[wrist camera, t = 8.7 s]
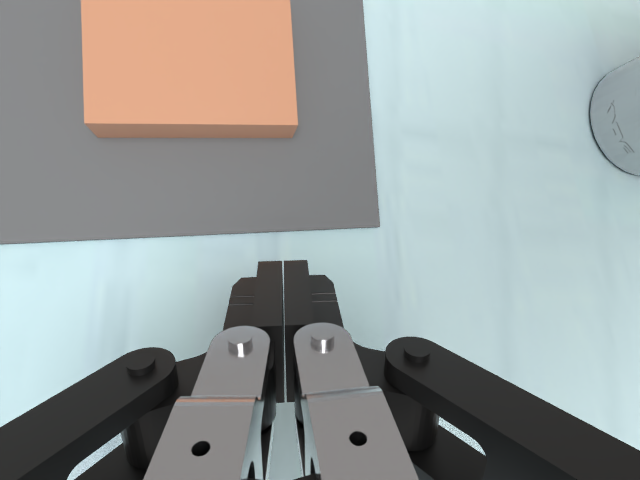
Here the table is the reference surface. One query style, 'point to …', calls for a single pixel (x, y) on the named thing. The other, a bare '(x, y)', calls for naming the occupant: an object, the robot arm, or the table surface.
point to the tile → (188, 68)
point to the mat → (180, 143)
